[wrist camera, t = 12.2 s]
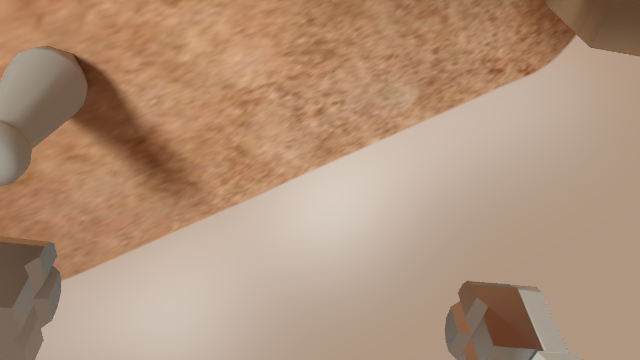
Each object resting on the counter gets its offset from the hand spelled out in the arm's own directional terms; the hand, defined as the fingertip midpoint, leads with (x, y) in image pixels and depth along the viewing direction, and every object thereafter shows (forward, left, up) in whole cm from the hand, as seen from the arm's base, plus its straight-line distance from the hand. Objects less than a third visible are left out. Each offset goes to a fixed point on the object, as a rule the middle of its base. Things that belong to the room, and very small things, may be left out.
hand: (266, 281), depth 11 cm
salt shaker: (+15, -16, -33) cm, 40 cm away
